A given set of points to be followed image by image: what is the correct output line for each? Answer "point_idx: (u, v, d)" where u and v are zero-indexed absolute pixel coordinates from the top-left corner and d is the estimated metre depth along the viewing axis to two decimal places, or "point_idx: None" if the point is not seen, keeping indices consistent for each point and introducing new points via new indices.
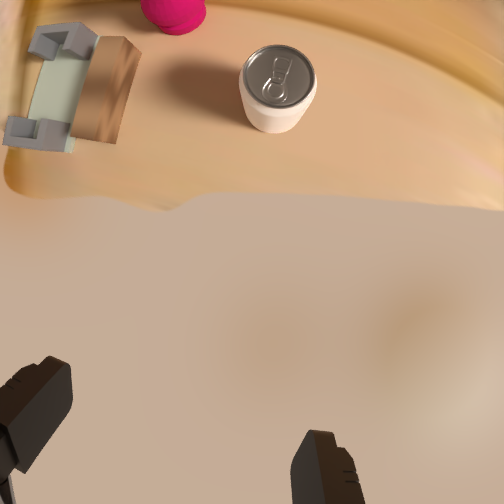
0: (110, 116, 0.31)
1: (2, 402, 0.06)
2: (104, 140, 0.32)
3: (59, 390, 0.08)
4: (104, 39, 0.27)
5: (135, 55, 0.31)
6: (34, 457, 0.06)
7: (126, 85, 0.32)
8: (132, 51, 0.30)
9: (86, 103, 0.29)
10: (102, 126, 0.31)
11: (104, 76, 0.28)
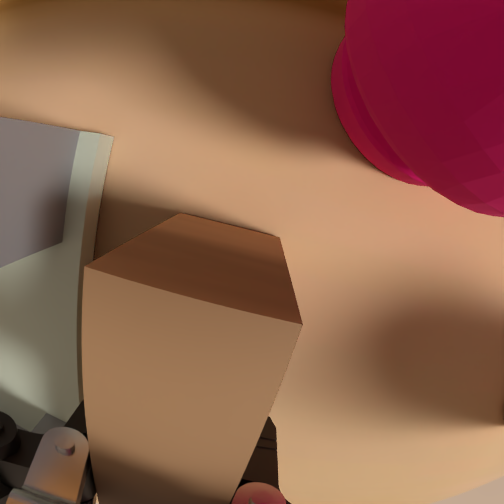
0: None
1: None
2: None
3: None
4: (127, 308, 0.04)
5: None
6: None
7: None
8: None
9: None
10: None
11: (196, 499, 0.06)
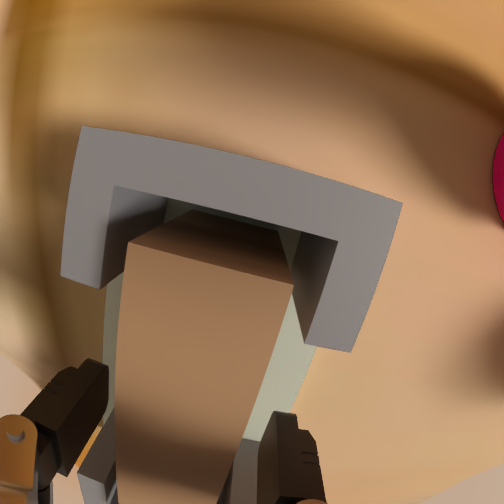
0: None
1: (47, 407, 0.06)
2: None
3: (99, 392, 0.09)
4: (161, 273, 0.06)
5: None
6: (75, 459, 0.07)
7: None
8: None
9: (150, 496, 0.08)
10: None
11: (206, 453, 0.07)
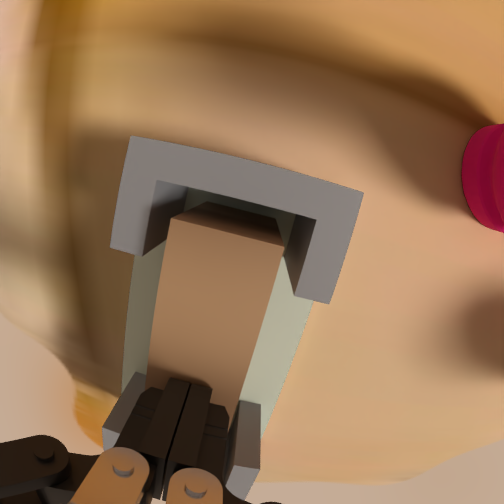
0: None
1: (147, 434, 0.07)
2: None
3: (183, 410, 0.09)
4: (194, 239, 0.09)
5: None
6: (165, 480, 0.07)
7: None
8: None
9: None
10: None
11: (220, 386, 0.10)
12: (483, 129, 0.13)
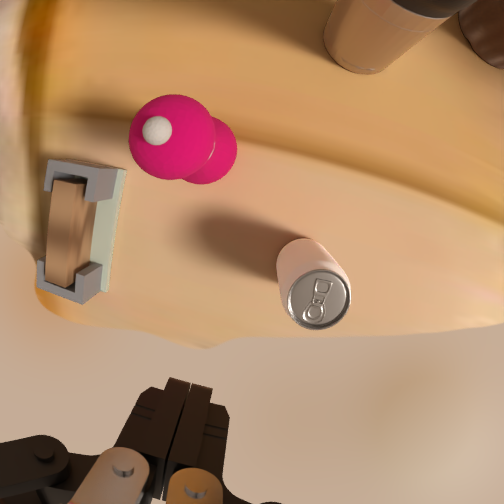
0: (78, 257, 0.35)
1: (147, 434, 0.07)
2: None
3: (183, 410, 0.09)
4: (58, 184, 0.30)
5: None
6: (165, 480, 0.07)
7: (89, 222, 0.36)
8: None
9: (53, 252, 0.32)
10: (72, 271, 0.34)
11: (64, 228, 0.31)
12: None
